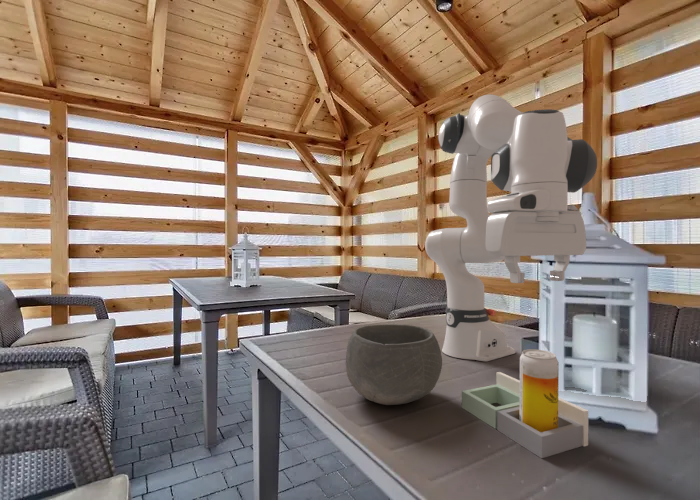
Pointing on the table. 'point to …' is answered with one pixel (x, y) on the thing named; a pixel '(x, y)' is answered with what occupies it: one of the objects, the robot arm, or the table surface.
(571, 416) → the holder board
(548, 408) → the beer can
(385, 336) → the bowl
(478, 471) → the table surface
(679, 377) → the table surface
